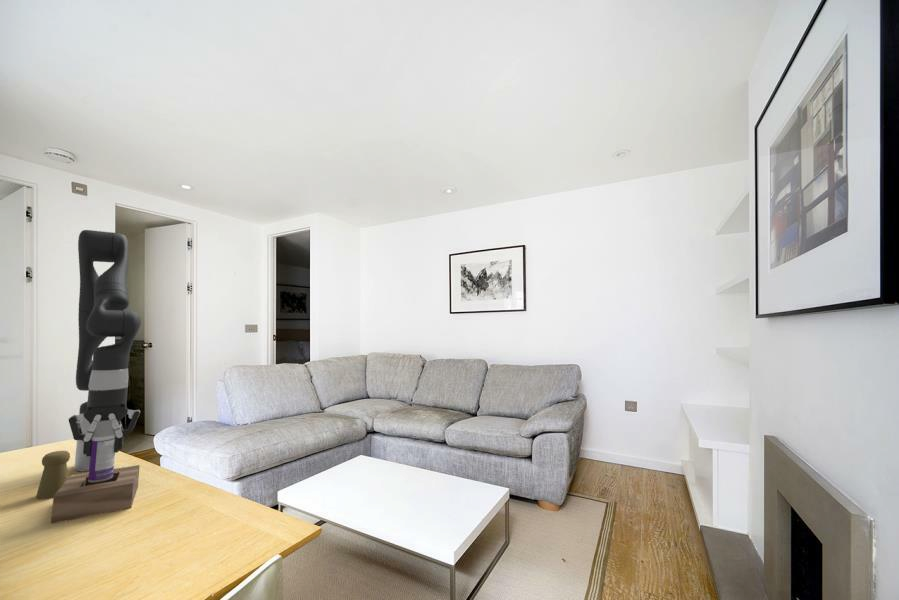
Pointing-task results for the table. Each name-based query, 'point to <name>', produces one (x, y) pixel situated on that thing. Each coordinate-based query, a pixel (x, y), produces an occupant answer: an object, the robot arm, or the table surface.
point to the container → (102, 452)
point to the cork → (53, 474)
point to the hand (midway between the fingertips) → (102, 453)
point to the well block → (95, 495)
